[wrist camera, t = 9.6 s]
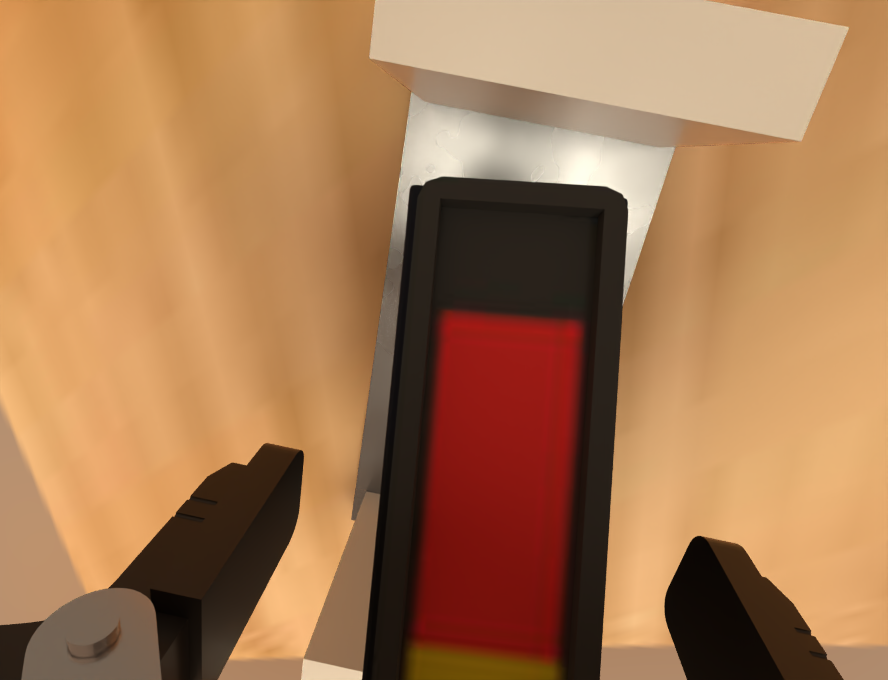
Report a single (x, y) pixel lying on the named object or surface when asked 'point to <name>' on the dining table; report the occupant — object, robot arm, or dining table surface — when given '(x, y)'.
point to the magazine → (499, 434)
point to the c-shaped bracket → (583, 129)
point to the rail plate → (501, 158)
